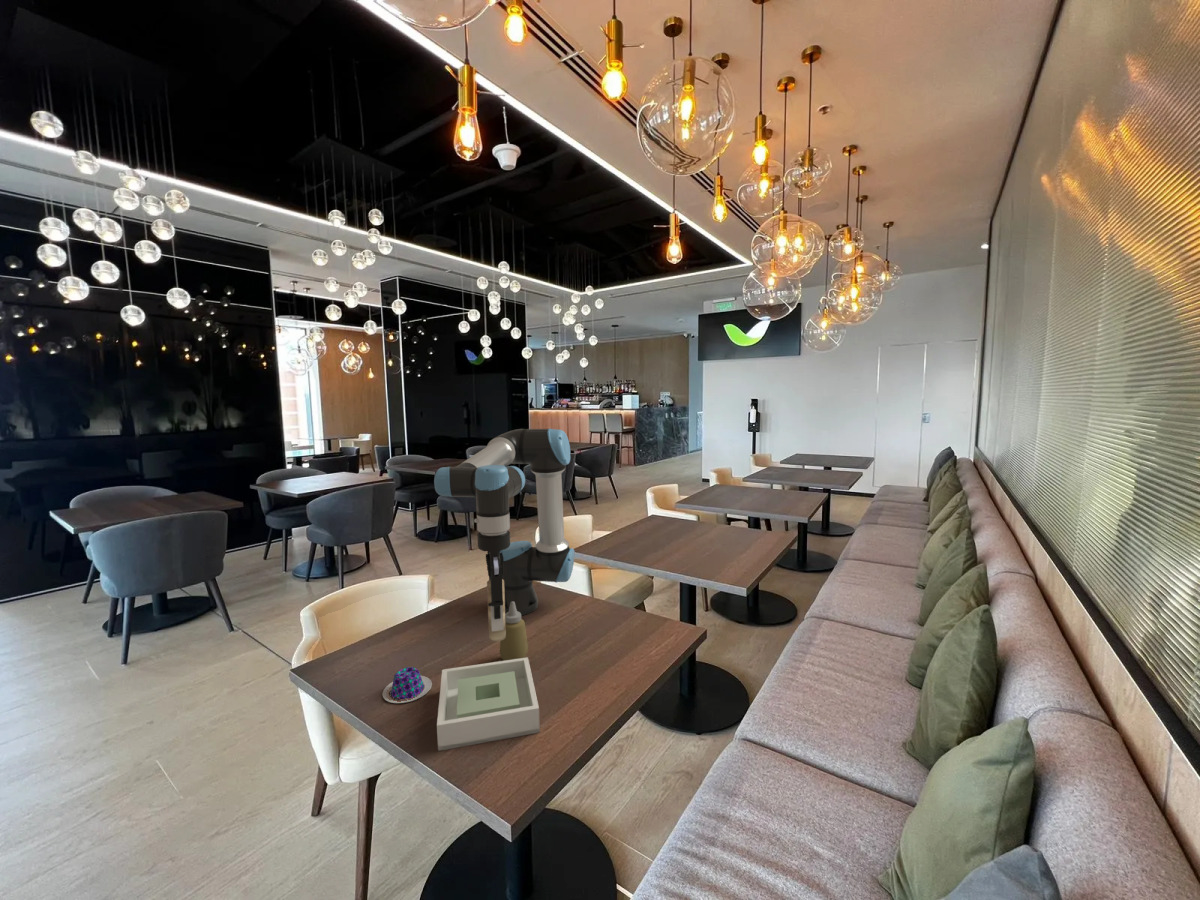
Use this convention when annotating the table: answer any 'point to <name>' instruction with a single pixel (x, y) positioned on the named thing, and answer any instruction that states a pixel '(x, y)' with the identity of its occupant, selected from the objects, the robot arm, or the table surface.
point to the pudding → (408, 685)
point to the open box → (489, 724)
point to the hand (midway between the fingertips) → (496, 625)
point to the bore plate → (487, 694)
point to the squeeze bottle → (514, 636)
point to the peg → (492, 634)
